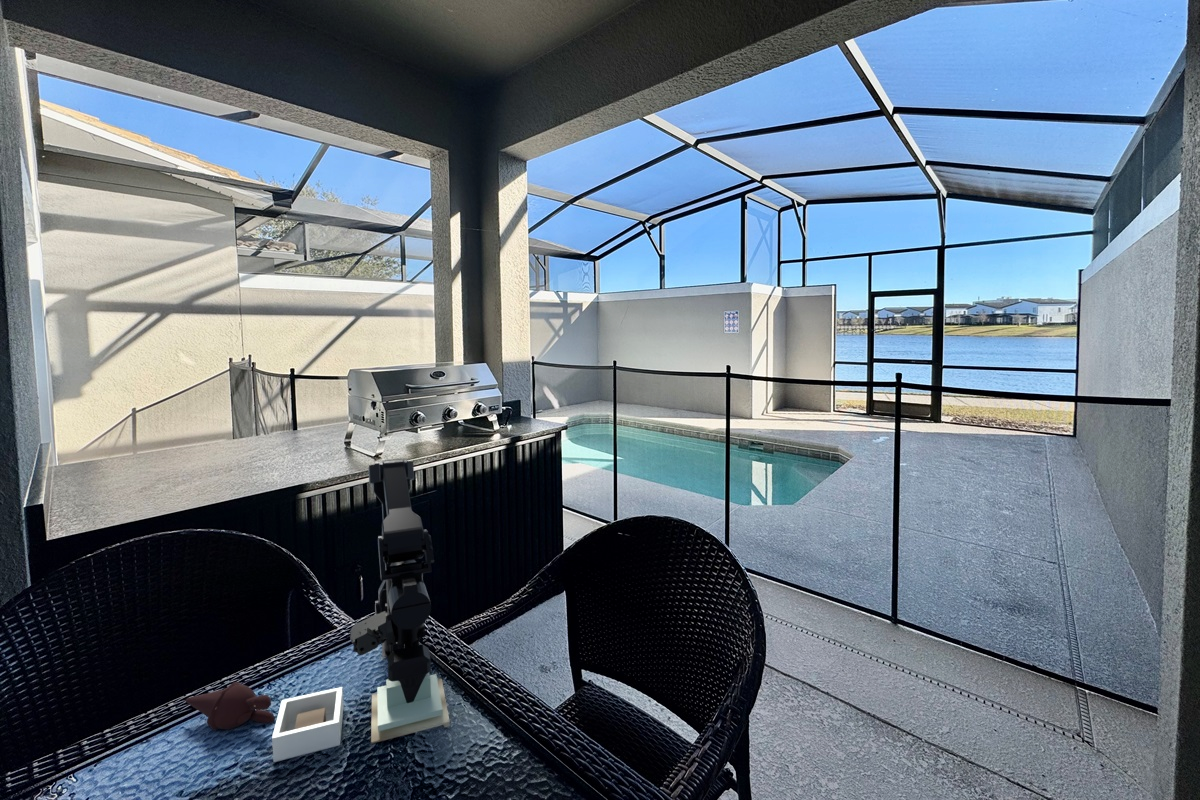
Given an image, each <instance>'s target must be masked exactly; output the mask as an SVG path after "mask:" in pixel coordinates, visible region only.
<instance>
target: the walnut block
mask: <svg viewBox="0 0 1200 800" xmlns="http://www.w3.org/2000/svg"><path fill="white" fill-rule="evenodd" d="M323 722H326V714H325V708H321V709H316V710H312V711H308V712H303V713H299V714H297V719H296V724H295V729H299V728H303V727H307V726H311V725H315V724H319V723H323Z"/></svg>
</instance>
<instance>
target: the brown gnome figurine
mask: <svg viewBox="0 0 1200 800" xmlns="http://www.w3.org/2000/svg"><path fill="white" fill-rule="evenodd" d="M185 702H186V703H187V704H189V706H192V707H193V708H194V709H196V710H197V711H199V712H200V713H201V714H203V715H204V716H206V717H207V719H206V723H207V725H208V726H209V727H210V730H213V731H218V730H219V729H220V730H231V729H234V728H237V727H240V726H241V725H243V724H244V723H246V722H248V721H249V720H251V721H253V722H255V723H258V724H259V723H260V724H271V723H273V722H274V721H275V720H276V717H275V715H274V713H273V712H270V711H268V710H267V709H269V708H270V707H271V705H272V698H271V697H270V696H268V695H266V694H260V695H257V693H255V691H254V690H253V689H252V688H250V687H249V686H248V685H245V684H242V683H241V682H236V681H234V682H232V683H231V684H230V685H228V687H225V688H224V689H220V690H216V691H213V692H207V693H203V694H199V695H194V696H190V697H187V698H186V699H185Z"/></svg>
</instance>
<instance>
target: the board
mask: <svg viewBox="0 0 1200 800" xmlns="http://www.w3.org/2000/svg"><path fill="white" fill-rule="evenodd" d="M437 681H438V687H439V692H440V698H441V703H442V709H443V715H440V716H436V717H432V718H428V719H424V720H421V721H417V722H413V723H409V724H405V725H401V726H398V727H394V728H390V729H386V730H382V731H378V701H377V692H376V693H373V694H371V722H370V724H371V725H370V727H371V728H370V729H371V730H370V732H371V733H370V735H371V736H370V744H371V745H372V744H376V743H379V742H383V741H387V740H391V739H394V738H398V737H403V736H406V735H410V734H414V733H418V732H421V731H425V730H428V729H429V730H430V729H434V728H436V727H440V726H443V728H447V727H448V728H449V727H450V726H451V725H450V724H451V723H450V718H449V711H448V706H447V701H446V700H447V699H446V695H445V689H444V683H443V678H437Z"/></svg>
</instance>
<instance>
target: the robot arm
mask: <svg viewBox="0 0 1200 800" xmlns="http://www.w3.org/2000/svg"><path fill="white" fill-rule="evenodd" d="M414 480H415V468H414V461H412V460H411V461H410V460H407V459H406V458H394V459H385V460H384V459H383V460H375V461H374V464H370V465H368V484H369V485H372V490H373V491H372V492H373V493H374V495H375V496H376V497H377V499H378V500H379V502H380V503H381V511H382V515H381V516H382V522H381V535H378V536H377V548H378V559H379V560H378V561H379V573H380V580H381V581H382V582H381V584H380V586H379V588H378V591H377V592H378V599H377V600H375V601H374V603H375V604H374V611H375V612H374V615H372V616H369V617H368V618H366V619H363V620H361V621H360V622H358V623H355V624H354V625H353V626H352V627H351V628H350V637H349V639H350V642H351V643H352V645H353V649H352V650H353V652H354V653H357V655H358V656H363V655H366V654H368V653H370V652H372V651H373V650H376V649H377V648H378V647H379V646H380V645H381V659H383V660H386V659H387V673H388V674H387V675H388V677H387V680H388V679H389V681H392V682H393V681H399V682H400V684H401V687H402V690H403V693H404V696H405V700H406V703H411V702H413V701H414V700H415V697H416V695H417V693H418V691H419V688H420V686H421V684H422V682H423V680H424V678H425V676H426V674H428V673H430V672H432V665H431V663H432V662H431V655H430V649H429V647H427V646H426V645H424V644H420V640H421V639H422V638H426V627H425V626H426V625H425V622H427V620H428V619H429V617H430V615H431V613H432V603H431V600H430V596H429V594H428V591H427V586H426V584H425V582H424V578H423V577H424V574H428V573H432V572H433V569H432V564H434V562H435V555H434V549H433V542H432V536H431V535H430V534H429V531H428V530H427V529H424V525H423V521H422V518H421V516H419V515H418V514H417V513H415V512H414V511H413V509H412V508H413V507H412V503H411V501H412V500H411V496H410V489H411V481H414ZM423 557H424V558H425V561H424V560H421V561H416V560H420V559H422V558H423Z"/></svg>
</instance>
